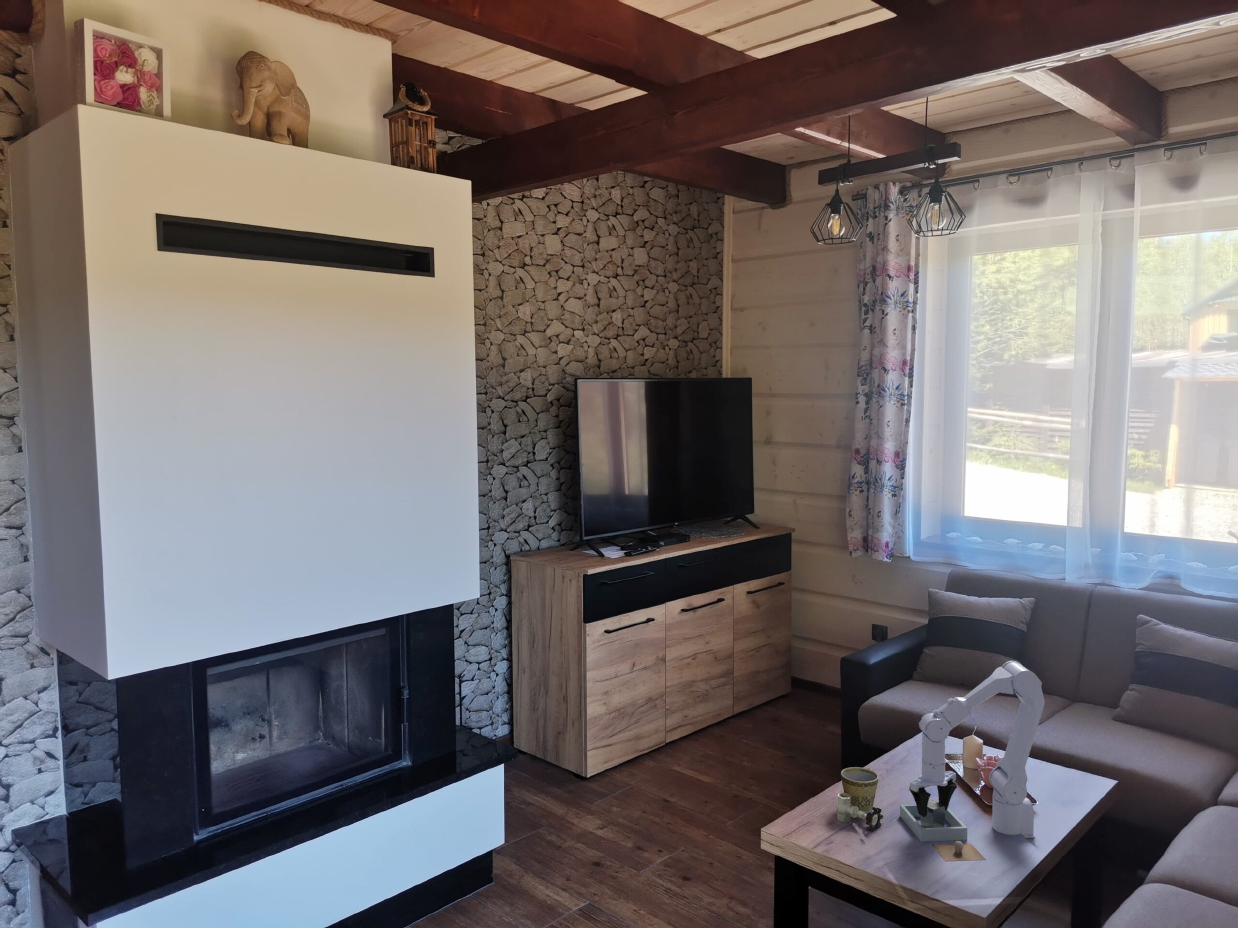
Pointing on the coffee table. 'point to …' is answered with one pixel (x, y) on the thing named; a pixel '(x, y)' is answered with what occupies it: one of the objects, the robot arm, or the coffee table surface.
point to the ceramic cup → (860, 787)
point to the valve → (856, 812)
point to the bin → (934, 834)
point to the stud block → (958, 852)
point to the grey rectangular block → (934, 815)
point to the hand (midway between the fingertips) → (932, 811)
